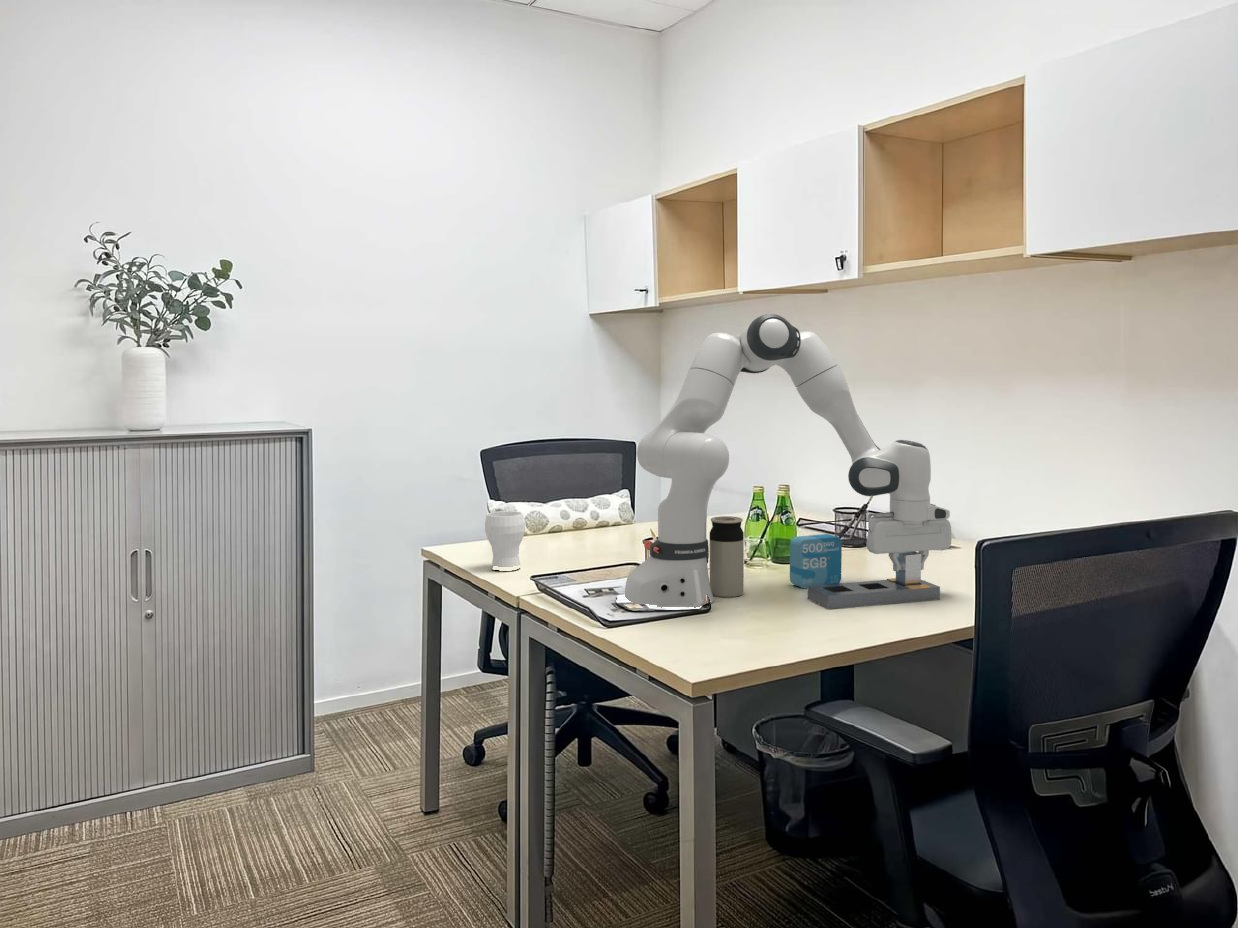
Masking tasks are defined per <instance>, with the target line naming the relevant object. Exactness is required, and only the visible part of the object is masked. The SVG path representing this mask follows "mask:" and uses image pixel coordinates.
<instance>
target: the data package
mask: <svg viewBox="0 0 1238 928" xmlns="http://www.w3.org/2000/svg"><path fill="white" fill-rule="evenodd" d="M842 547H843V545H842V539H841V538H840V537H838V536H836V535H833V534H829V533H823V534H821V533H820V534H813V535H812V534H810V535H799V536H798V535H797V536H794V537H792V538H791V539H790V542H789V581H790V583H791V585H793V586H796V587H799V588H801V589H808V586H812V585H825V584H838V583H841V581H842V555H843V554H842V549H843V548H842Z"/></svg>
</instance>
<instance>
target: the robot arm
mask: <svg viewBox="0 0 1238 928" xmlns="http://www.w3.org/2000/svg"><path fill="white" fill-rule="evenodd" d="M773 366H777V367H780V368H781V369H783V370H784V372H786V373H787V375H788V376H789V377H790V379H791V381H792V383H793V385H794V387H795V388H796V391H797V393H798V394H799V396H800V397H801V399H802V401H803V402H804V403H805V404H806V405H807V407H808V408H809V409H810V411H812V413H814V414H815V415H818V416H819V417H822V418H823V419H824V420H826V421H827V422H828V423H829V424H830V425H831V426H832V427H833V428H834V430H835V432H836V433H837V435H838V436H839V438H840V440H841V442H842V443H843V445H844V447H845V449H846V450H847V453H849V456H850V458H851V461H852V462H851V463H852V464H851V466H850V467H849V471H848V483H849V484H850V487H851V488H852V489H853V490H854V491H855V492H856V493H857V494H859V495H861V496H865V497H876V496H881V495H886V494H889V512H888V511H887V512H875V513H874V514H873V515H871V516H870V517H869V519H868V523H867V525H868V530H867V537H866V549H867V551H868V552H870V553H872V554H874V555H882V554H888V558H889V559H890V561H891V563H892V570H893V571H894V572H895V573H896V572H899V571H902V570H903V569H902V567H903V564H901V563H899V562H898V560H897V557H899V552H914V551H916V552H918V553H920V554H921V571H923V570H924V568H925V567H924V566H925V562H926V561H927V559H928V557H929V555H930V553H929V552H930V551H939V550H942V551H943V550H949V548H950V546H951V545H952V525H951V523H950V521H949V520H948V519H949V518H950V516H951V515H950V514H951V512H950V509H946V508H943V507H940V506H937V505H936V504H932V503H931V494H930V491H929V486H930V483H931V481H932V480H931V476H932V474H931V473H932V472H931V471H932V468H931V467H932V465H931V456H930V451H929V450H928V448H927V447H926V445H924V444H923V443H920V442H917V441H911V440H907V439H906V440H904V439H898V440H895V441H894V442H892V443H891V444H889V445H888V446H886V447H883V448H880V447H879V446H878V445H876V443H875V442H874V440H873V439H872V437H871V435H870V434H869V432H868V430H867V428H866V427H865V425H864V423H863V421H862V420H861V418H860V416H859V414H858V412H857V410H856V408H855V405H854V402H853V397H852V395H851V392H850V387H849V386H848V383H847V380H846V378H845V375H844V373H843V370H842V369H841V367H840V365H839V363H838V362H837V359H836V358H835V357H834V355H833V354H832V351H830V349H829V347H828V346H827V345H826V344H825V342H824V341H823V340H822V339H821V337H819V335H818V334H816V333H815V332H813V331H807V330H806V331H805V330H804V331H801V332H800V331H799V329H798V328H797V327H795V326H793V325H792V324H791V323H790V321H788V320H787V319H786V318H785V317H783V316H781V315H780V314H775V313H767V314H763V315H760V316H758V317H756V318H755V319H754V320H752V321H751V322H750V323H749V324H748V325H747V326H745V328H743V330H741V332H740V333H738V335H731V334H729V333H726V332H714V333H711V334H709V335H708V336H706V337H705V339H704V340H703V342H702V343H701V346H699V349H698V350H697V352H696V354H695V356H694V357H693V360H692V361H691V365H690V367H689V370H688V372H687V374H686V377H685V379H684V381H683V383H682V387H681V389H680V391H679V393H678V396H677V398H676V400H675V402H674V403H673V405H672V407H671V408H670V410H669V411H668V412H667V413H666V415H665V416H664V418H663V419H662V420H661V421H660V422H659V424H657V426H656V427H654V429H652V430H651V431H650V432H647V434H645V435H644V436H642V438H641V439H640V441H639V443H638V445H637V449H636V457H637V461H638V463H639V465H640V467H641V468H642V469H643V470H645V471H646V472H648V473H650V474H652V475H654V476H657V477H659V478H666V479H671V484H670V489H669V492H668V493H667V496H666V497H665V499H663V500H662V501H661V502H660V503H659V505H658V508H657V539H656V540H655V541H654V542H652V541H650V540H645V541H644V543H643V548H645V550H647V551H649V555H650V556H649V557H648V558H647V559H645V560H644V561H643V562H642V563H641V564H639V565H638V566H637V567H636V568H634V569H633V570H632V571H630V572H629V573H628V574H627V578H626V581H625V587H624V588H625V589H624V593H625V597H626V598H627V599H628V600H629V601H631V602H633V603H637V604H649V605H657V607H661V608H662V607H694V608H696V607H700V606H701V602H702V600H703V599H704V598H705V597H706V595H707V594H708V597H709V599H710V601H711V603H710V604H712V603H713V602H714V601H715V598H714V595H712V592H711V587H710V575H709V570H708V564H709V559H710V545H709V540H708V539H707V519H708V517H707V514H708V506H709V501H710V497H711V493H712V491H713V489H714V486H715V485H716V483H717V482H718V480H720V479H721V478H722V477H723V476H724V475H725V473H726V471H727V469H728V467H729V463H730V453H729V450H728V449H729V448H728V447H727V445H726V444H725V442H724V441H723V440H721V439H720V438H718V437H715V436H713V435H710V434H707V433H705V432H707V430H709V428H710V427H711V426H712V425H715V424H716V423H717V422H719V421H720V420H721V419H722V418H723V416H724V414H725V412H726V408H727V406H728V403H729V402H730V397H731V396H732V394H733V390H734V387H735V384H736V382H737V379H738V376H739V375H740V373H748V374H760V373H763V372H766V371H767V370H769V369H770V368H771V367H773Z"/></svg>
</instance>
